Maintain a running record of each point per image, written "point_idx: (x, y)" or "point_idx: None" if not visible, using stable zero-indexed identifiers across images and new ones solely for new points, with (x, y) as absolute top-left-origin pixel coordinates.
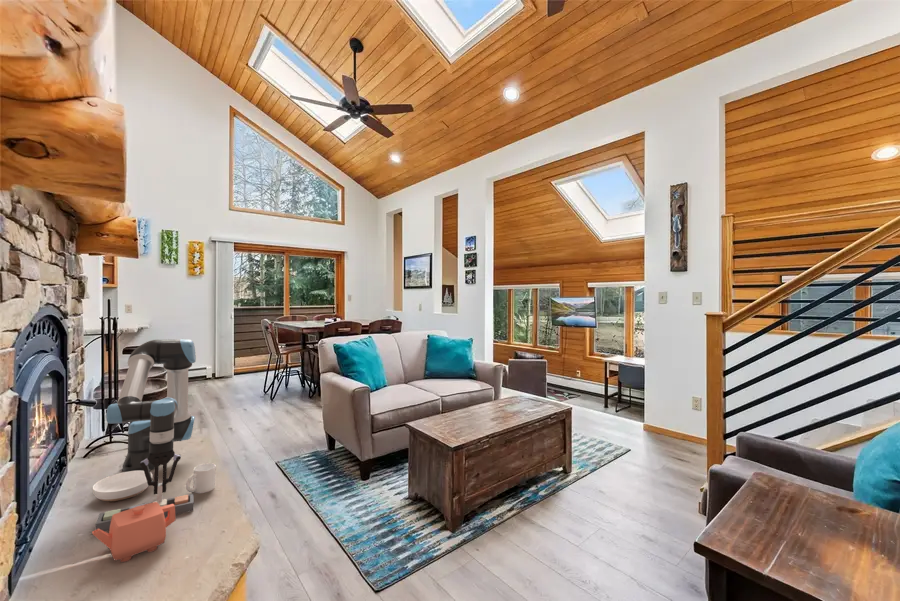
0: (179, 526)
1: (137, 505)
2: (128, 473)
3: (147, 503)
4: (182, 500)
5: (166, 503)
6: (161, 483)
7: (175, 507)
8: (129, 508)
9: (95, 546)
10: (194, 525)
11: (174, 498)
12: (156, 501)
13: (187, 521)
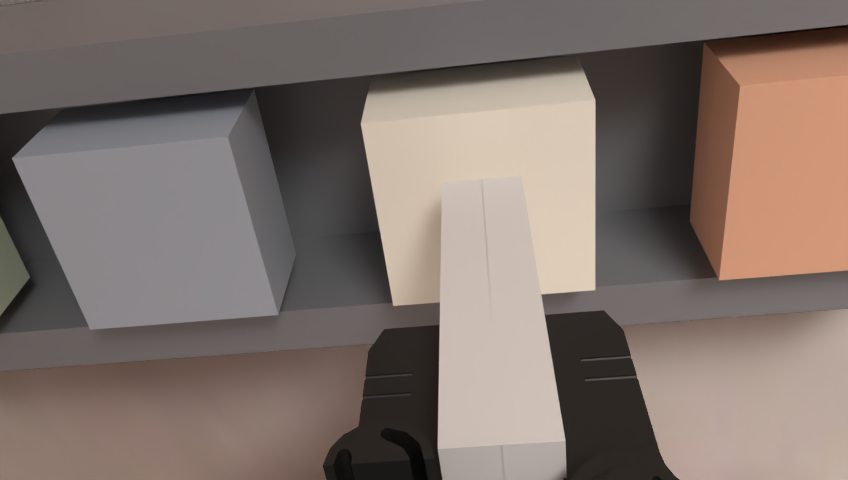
0: (706, 429)
1: (130, 167)
2: None
3: (259, 36)
4: (843, 269)
5: (594, 259)
6: (533, 472)
7: (711, 305)
8: (41, 218)
9: (36, 462)
10: (841, 461)
11: (720, 19)
12: (420, 135)
13: (792, 373)
